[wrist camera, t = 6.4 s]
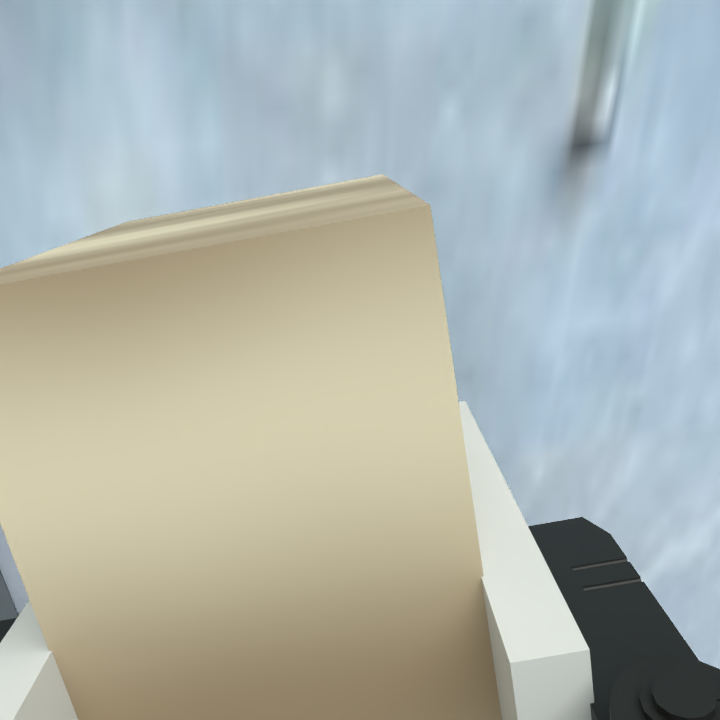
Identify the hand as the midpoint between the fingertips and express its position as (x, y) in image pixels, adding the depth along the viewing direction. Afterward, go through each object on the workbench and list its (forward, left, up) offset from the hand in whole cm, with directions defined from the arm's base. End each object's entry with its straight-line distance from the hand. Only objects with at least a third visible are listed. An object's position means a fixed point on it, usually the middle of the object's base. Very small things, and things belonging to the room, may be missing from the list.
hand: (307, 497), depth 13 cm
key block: (0, 0, -2) cm, 2 cm away
